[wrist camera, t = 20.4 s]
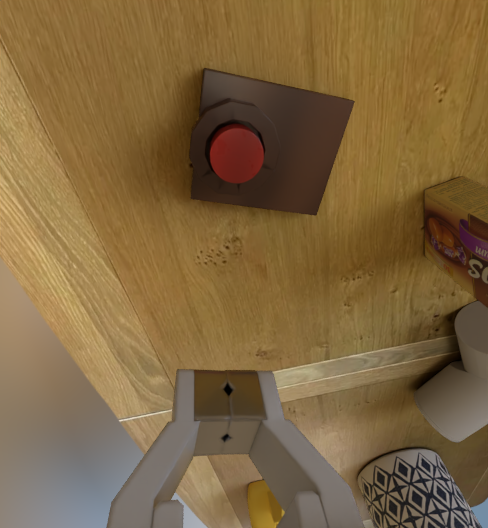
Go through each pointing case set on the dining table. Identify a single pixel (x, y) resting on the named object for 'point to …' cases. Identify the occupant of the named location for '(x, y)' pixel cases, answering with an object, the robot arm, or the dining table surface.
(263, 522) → the teapot
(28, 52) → the dining table surface
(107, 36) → the dining table surface
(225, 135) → the button
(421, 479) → the planter
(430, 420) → the bent grey cylinder
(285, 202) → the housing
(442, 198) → the candy box
